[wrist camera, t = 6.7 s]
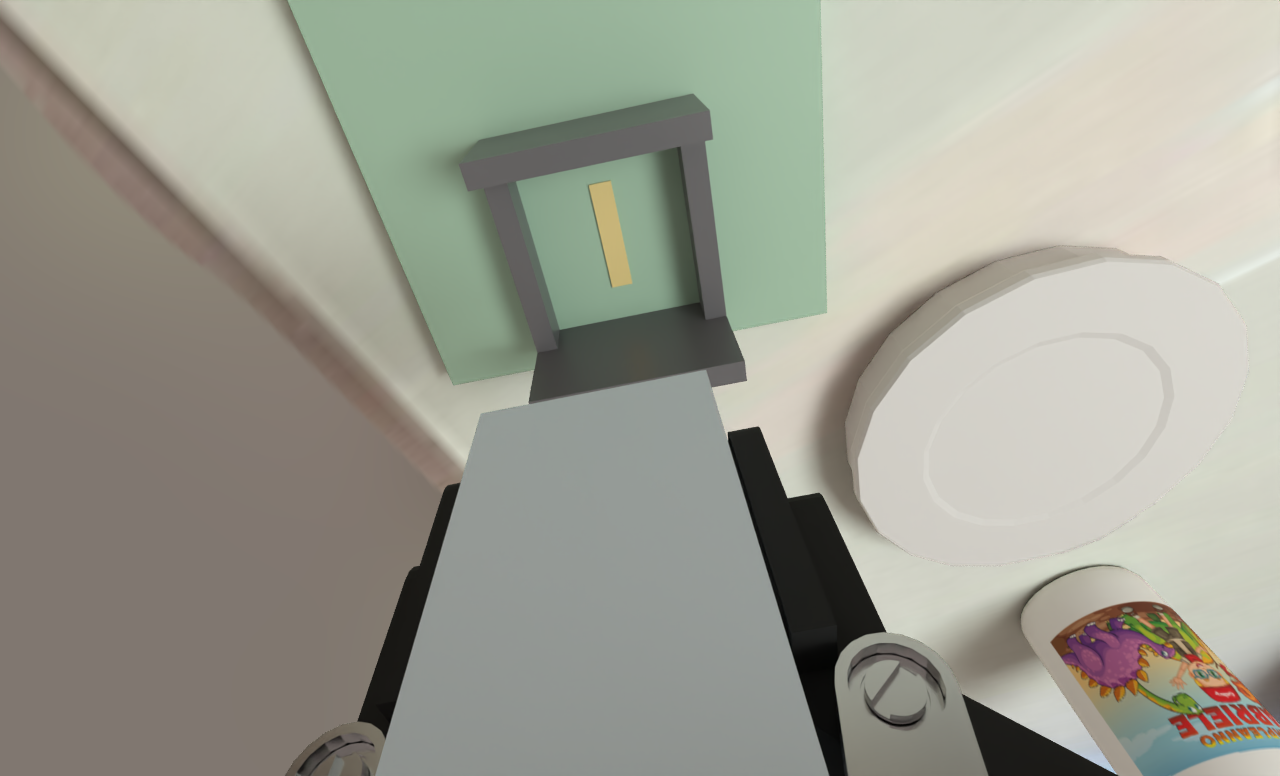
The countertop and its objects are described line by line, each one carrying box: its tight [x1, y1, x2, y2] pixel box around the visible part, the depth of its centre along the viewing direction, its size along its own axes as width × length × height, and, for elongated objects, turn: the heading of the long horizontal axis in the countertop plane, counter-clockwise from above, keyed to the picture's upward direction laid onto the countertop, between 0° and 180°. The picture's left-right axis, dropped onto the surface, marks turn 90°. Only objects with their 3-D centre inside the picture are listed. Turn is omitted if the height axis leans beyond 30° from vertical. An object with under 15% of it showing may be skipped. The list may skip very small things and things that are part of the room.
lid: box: [845, 246, 1249, 566], centre depth 29 cm, size 17×20×3 cm
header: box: [459, 94, 747, 404], centre depth 21 cm, size 8×7×5 cm
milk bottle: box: [1021, 566, 1280, 776], centre depth 30 cm, size 8×8×20 cm
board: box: [287, 0, 827, 385], centre depth 20 cm, size 20×16×1 cm
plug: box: [375, 370, 829, 776], centre depth 8 cm, size 5×4×8 cm
